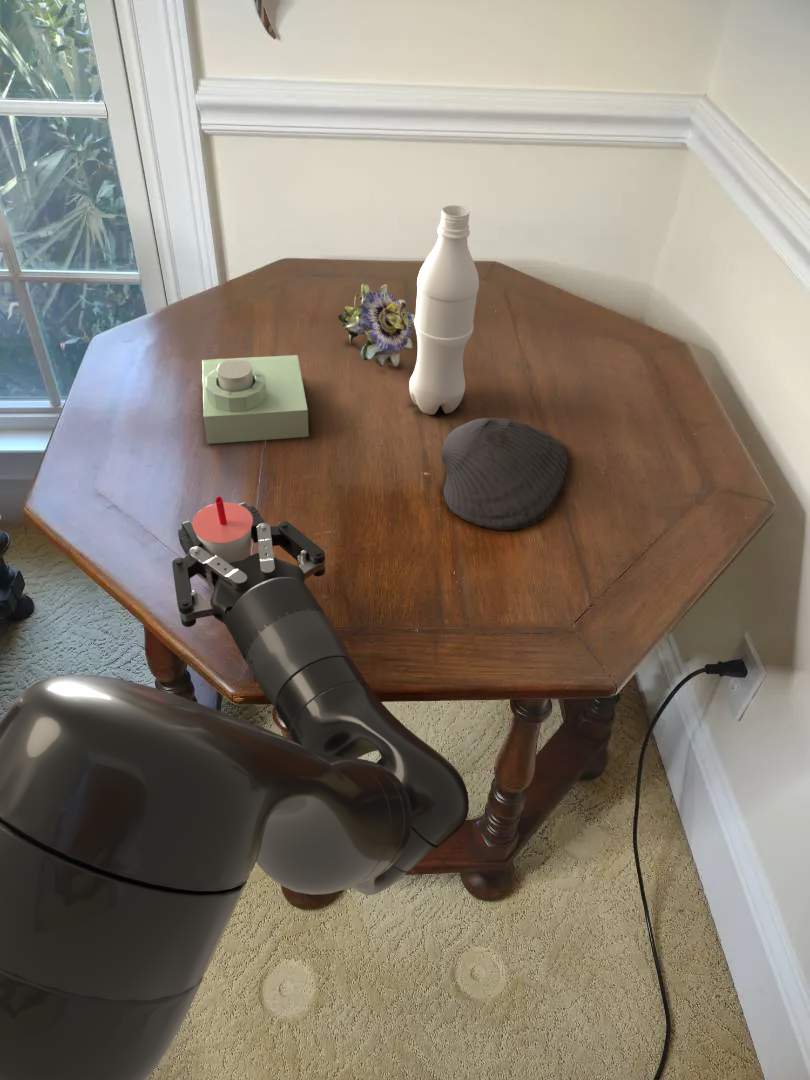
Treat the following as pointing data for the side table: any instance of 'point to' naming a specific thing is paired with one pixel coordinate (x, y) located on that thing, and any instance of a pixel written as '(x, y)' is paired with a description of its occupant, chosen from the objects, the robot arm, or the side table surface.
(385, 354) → the passion flower
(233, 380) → the button
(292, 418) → the green button box
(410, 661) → the side table surface
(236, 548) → the cup
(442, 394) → the water bottle
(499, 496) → the seashell
